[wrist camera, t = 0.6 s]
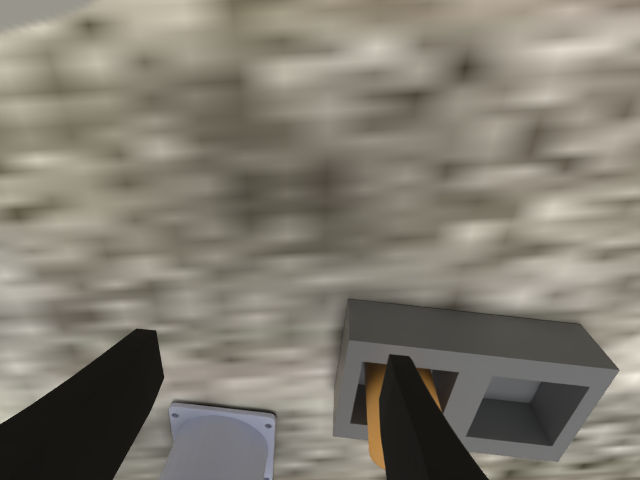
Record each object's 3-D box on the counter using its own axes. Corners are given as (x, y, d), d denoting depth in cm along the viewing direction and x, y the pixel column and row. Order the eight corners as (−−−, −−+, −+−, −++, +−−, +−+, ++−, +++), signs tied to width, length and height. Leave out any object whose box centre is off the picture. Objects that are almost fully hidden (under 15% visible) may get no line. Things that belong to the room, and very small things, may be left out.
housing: (532, 411, 26) (586, 517, 20) (334, 389, 26) (331, 487, 20) (580, 324, 22) (664, 423, 16) (348, 298, 22) (349, 388, 16)
